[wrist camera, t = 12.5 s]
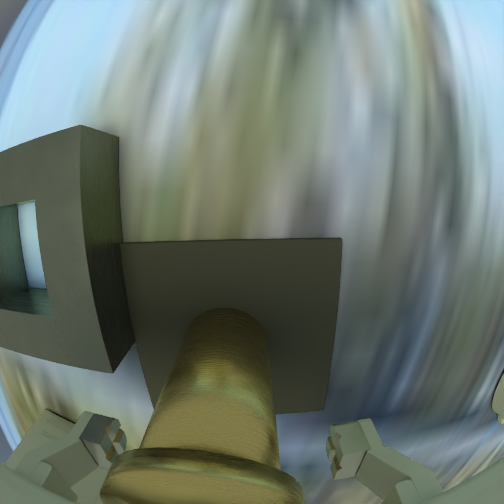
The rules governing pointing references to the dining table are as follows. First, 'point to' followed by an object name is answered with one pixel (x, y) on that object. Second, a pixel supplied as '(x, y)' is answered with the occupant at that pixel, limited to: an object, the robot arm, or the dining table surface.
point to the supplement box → (47, 431)
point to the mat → (240, 305)
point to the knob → (210, 425)
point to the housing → (65, 251)
